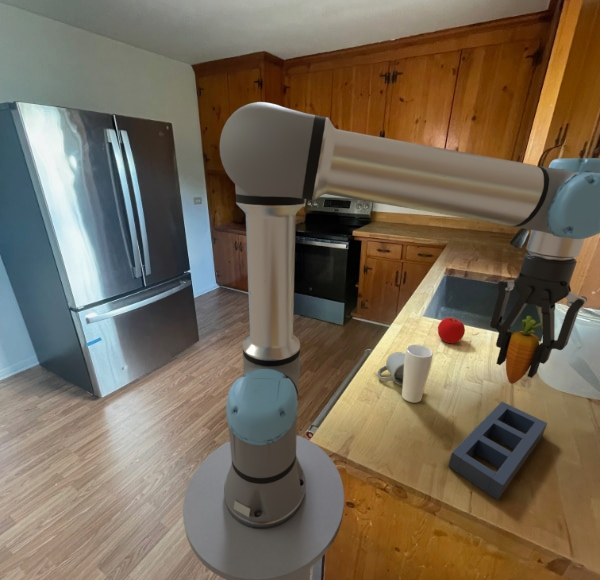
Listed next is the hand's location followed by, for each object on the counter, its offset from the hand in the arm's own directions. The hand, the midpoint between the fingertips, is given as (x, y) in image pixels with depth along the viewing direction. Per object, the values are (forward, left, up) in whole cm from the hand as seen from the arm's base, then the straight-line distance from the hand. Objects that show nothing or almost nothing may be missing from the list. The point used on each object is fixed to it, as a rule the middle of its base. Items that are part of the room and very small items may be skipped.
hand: (515, 368), depth 66 cm
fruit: (-32, +42, -22) cm, 57 cm away
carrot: (0, 0, -4) cm, 4 cm away
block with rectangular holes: (+1, +1, -22) cm, 22 cm away
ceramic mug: (-30, +6, -22) cm, 38 cm away
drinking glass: (-22, +2, -22) cm, 31 cm away
